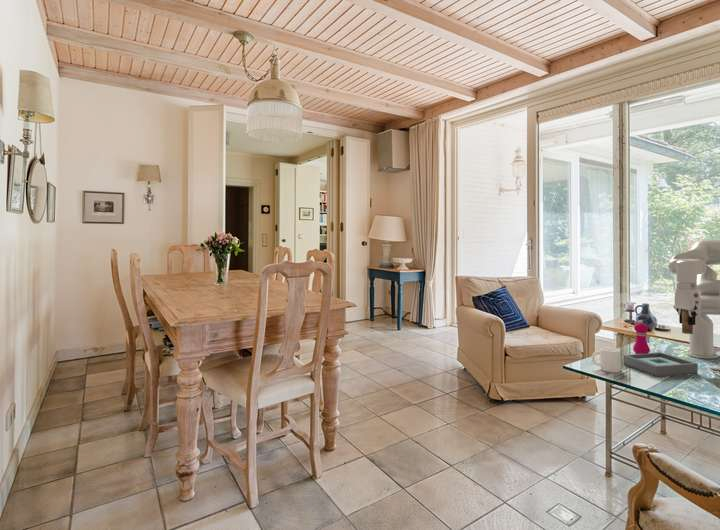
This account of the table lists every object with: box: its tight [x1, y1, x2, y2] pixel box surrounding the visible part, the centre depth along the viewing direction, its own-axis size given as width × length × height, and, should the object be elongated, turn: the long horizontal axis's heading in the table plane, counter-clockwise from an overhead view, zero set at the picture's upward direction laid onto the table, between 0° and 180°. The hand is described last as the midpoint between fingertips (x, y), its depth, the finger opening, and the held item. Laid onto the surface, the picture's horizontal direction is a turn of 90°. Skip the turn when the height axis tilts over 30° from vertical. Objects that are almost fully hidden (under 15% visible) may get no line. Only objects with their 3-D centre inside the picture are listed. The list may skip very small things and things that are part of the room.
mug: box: [591, 346, 622, 374], centre depth 193 cm, size 12×8×10 cm
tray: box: [623, 351, 699, 378], centre depth 190 cm, size 20×20×5 cm
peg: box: [681, 309, 693, 335], centre depth 191 cm, size 4×4×12 cm
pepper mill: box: [632, 319, 651, 354], centre depth 209 cm, size 7×7×20 cm
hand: (687, 323), depth 191 cm, fingers closed on peg, 4 cm apart
